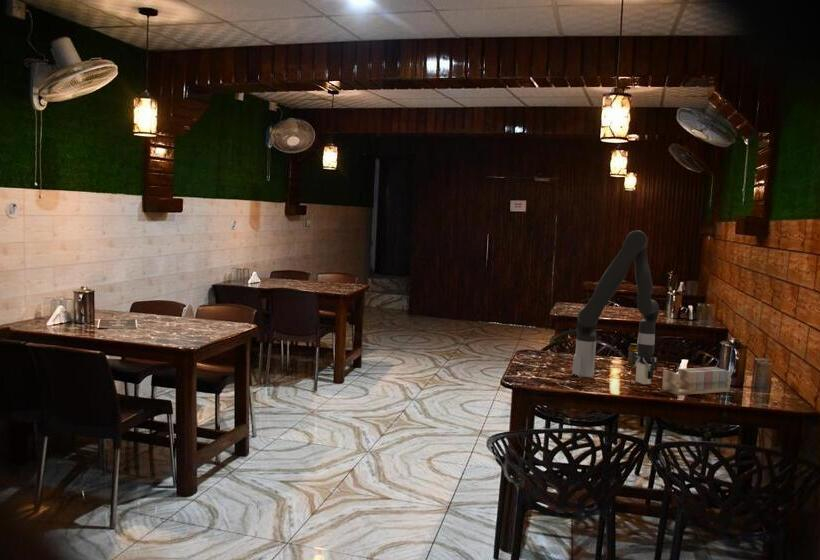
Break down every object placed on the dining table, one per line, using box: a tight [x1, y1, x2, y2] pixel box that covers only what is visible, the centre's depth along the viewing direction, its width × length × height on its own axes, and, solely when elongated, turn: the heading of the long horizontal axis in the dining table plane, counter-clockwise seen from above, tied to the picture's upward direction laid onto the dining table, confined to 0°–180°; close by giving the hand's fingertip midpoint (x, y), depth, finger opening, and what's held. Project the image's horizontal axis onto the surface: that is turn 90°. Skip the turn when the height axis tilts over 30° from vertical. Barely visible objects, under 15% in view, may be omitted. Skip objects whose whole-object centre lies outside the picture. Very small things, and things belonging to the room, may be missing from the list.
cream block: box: [635, 362, 652, 385], centre depth 303 cm, size 4×6×9 cm
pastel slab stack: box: [661, 366, 732, 396], centre depth 292 cm, size 9×30×10 cm, turn 111°
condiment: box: [627, 342, 637, 367], centre depth 340 cm, size 7×8×12 cm
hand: (643, 376), depth 304 cm, fingers open, 8 cm apart
